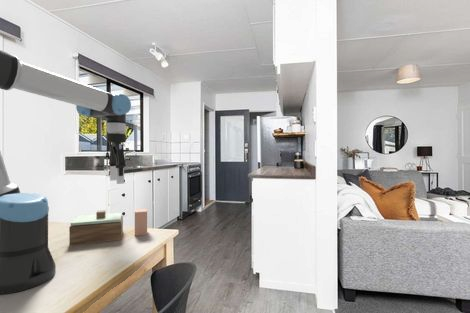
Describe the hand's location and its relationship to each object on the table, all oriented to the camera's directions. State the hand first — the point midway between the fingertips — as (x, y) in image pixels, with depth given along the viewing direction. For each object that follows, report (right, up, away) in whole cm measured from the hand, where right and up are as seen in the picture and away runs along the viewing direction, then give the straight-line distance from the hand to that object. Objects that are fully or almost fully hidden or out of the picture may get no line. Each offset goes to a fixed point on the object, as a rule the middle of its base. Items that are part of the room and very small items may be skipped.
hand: (116, 182), depth 111 cm
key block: (+11, -23, 0) cm, 25 cm away
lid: (-5, -15, -6) cm, 17 cm away
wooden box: (-5, -22, -6) cm, 24 cm away
